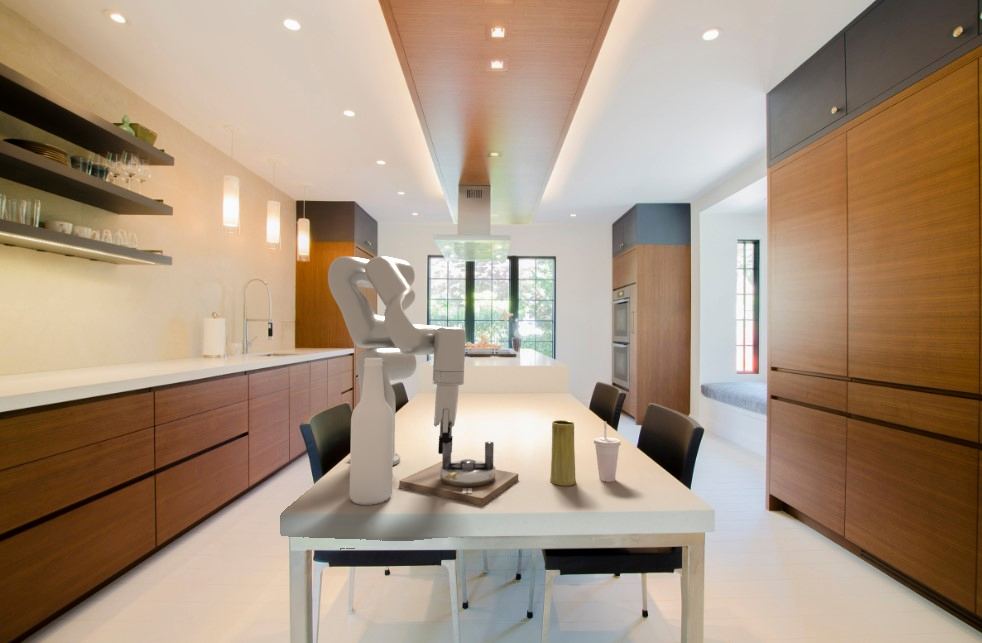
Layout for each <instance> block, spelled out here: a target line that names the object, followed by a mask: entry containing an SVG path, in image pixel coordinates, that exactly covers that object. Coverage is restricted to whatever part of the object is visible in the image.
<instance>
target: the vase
mask: <svg viewBox="0 0 982 643" xmlns="http://www.w3.org/2000/svg"><path fill="white" fill-rule="evenodd" d="M551 424H552V425H551V427H552V429H551V432H552V433H551V434H552V436H551V460H550V461H551V464H550V465H551V466H550V479H549V480H550V482H551V483H552V484H553V485H556V486H561V487H562V486H563V487H569V486H574V485H575V484H576V483H577V480H576V479H577V478H576V458H575V457H576V455H575V453H576V452H575V423H574V421H572V420H566V419H564V420H560V419H557V420H553V421H552V423H551Z"/></svg>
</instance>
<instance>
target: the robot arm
mask: <svg viewBox="0 0 982 643" xmlns="http://www.w3.org/2000/svg"><path fill="white" fill-rule="evenodd" d="M415 278H416V276H415V270H414V268H413V266H412V265H411V264H410V263H409V262H408V261H406V260H403V259H399V258H394V257H390V256H382V255H378V256H374V257H371V258H370V259H368V258H367V259H366V258H361V257H356V256H339V257H337V258H335V259H334V260H332V262H331V263H330V265H329V267H328V274H327V281H328V282H327V283H328V287H329V291H330V293H331V295H332V296H333V299H334V300H335V303H336V304H337V306H338V307H339V309H340V312H341V314H342V317H343V320H344V322H345V325H346V328H347V329H348V330H347V331H348V333H349V335H350V338H351V340H352V342H353V344H354V345H356V347H358V348H362V349H363V348H365V350H363V351H362V352H360V354H359V355H358V357H357V359H356V360H357V361H356V370H357V377H358V383H359V401H360V400H361V397H362V389H363V379H364V369H365V366H364V364H365V361H364V359H365V358H382V359H383V361H382V363H383V366H382V371H383V387H384V397H385V400H386V402H387V403H388V404H389V406H390V407H391V409H392V412H393V466H395V465H397V464H399V463H400V461H401V455H400V454H398V453H396V452H395V451H396V448H395V447H396V445H395V444H396V439H395V438H396V394H395V391H394V388H393V386H392V384H391V382H390V381H397V380H405V379H406V380H407V379H409V378H410V377H412V376H413V375H414V373H415V371H416V368H417V358H416V356H422V355H425V356H428V355H430V356H432V355H433V366H432V368H433V369H432V370H433V371H432V384H433V385H436V388H435V398H434V399H435V401H434V417H433V418H434V419H433V420H434V421H433V426H434V427H437V426H439V437H438V449H437V452H438V454H439V455H443V442H451V454H452V452H453V427H454V426H455V423H456V418H457V413H458V412H457V411H458V404H459V403H458V400H459V386H462V385H464V384H465V383H464V382H465V381H464V380H465V358H466V336H467V335H466V333H467V332H466V331H465V329H464V328H462V327H458V326H457V327H456V326H455V327H454V326H440V325H430V324H429V325H428V324H413V323H412V322H411V320H409V318H408V316H407V315H406V313H405V311H406V310H407V309H408V308H409V307H410V306H411V305H413V303H414V301H415V299H416V294H415V291H414V289H413V287H412V285H413V283H414V281H415ZM359 287H360V288H365V289H374V291H376V293H377V295H378V296H379V298H380V300H381V301H382V303H383V304H384V306H385V310H384V314H383V315H378V314H376V312H375V310H374V308H373V307H372V304H371V301H370V300H369V299H368V297H367V296H366V295H365V293H363V291H361V289H359Z"/></svg>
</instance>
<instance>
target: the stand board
mask: <svg viewBox="0 0 982 643" xmlns="http://www.w3.org/2000/svg"><path fill="white" fill-rule="evenodd" d="M441 467H442V461H440V462H437V463H435V464H433V465H431V466H429V467H426V468H424V469H422V470H420V471H417V472H415V473H413V474H410V475H409V476H406V477H404V478H402V479H400V480H399V482H398V483H399V484H398V488H402V489H406V490H410V491H415V492H418V493H424V494H429V495H433V496H437V497H442V498H446V499H451V500H454V501H455V500H456V501H460V502H464V503H469V504H473V505H477V506H484V505H486V504H487V503H488V502H490V501H492V499H494V498H495V497H496V496H498V495H500V494H502V492H504V491H505V490H507V489H508V488H509V487H510V486H512V485H513V484H515V483H516V482H517V481H519V473H516V472H512V471H506V470H499V469H495V480H494V481H493V482H491V483H489V484H486V485H482V486H475V487H459V486H452V485H449V484H446V483H444V482H442V481H441V480H440V468H441Z"/></svg>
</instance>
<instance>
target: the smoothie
mask: <svg viewBox="0 0 982 643" xmlns="http://www.w3.org/2000/svg"><path fill="white" fill-rule="evenodd" d="M593 444H594V445H595V454H596V460H597V461H596V462H597V470H598V479H599V481H601V480H602V482H605V481H606V483H612V482H611V481H613V482H615V481H616V477H617V476H616V474H617V466H618V459H619V458H618V457H619V451H620V450H619V449H620V446H621V445H622V444H621V440H620V439H619V438H615V437H612V436H611V437H610V436H607V421H603V436H597V437H594V439H593Z"/></svg>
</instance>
